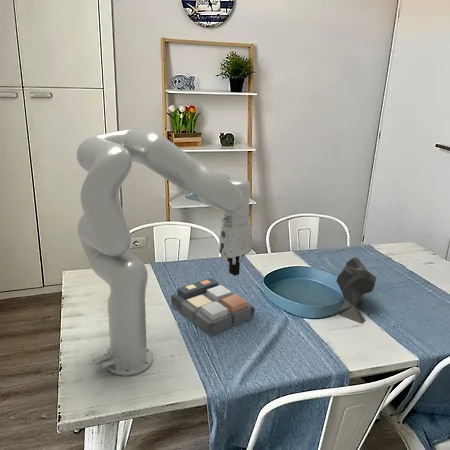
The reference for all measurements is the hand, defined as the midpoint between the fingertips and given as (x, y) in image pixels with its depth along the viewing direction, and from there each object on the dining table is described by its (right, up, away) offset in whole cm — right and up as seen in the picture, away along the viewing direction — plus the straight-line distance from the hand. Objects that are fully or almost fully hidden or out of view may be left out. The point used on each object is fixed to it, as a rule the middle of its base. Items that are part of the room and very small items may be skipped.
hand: (234, 273), depth 138 cm
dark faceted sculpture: (+41, -13, +13) cm, 45 cm away
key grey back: (-5, -10, +10) cm, 15 cm away
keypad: (-7, -13, +7) cm, 17 cm away
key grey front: (-6, -13, -1) cm, 15 cm away
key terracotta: (0, -12, +4) cm, 12 cm away
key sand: (-11, -12, +6) cm, 17 cm away
